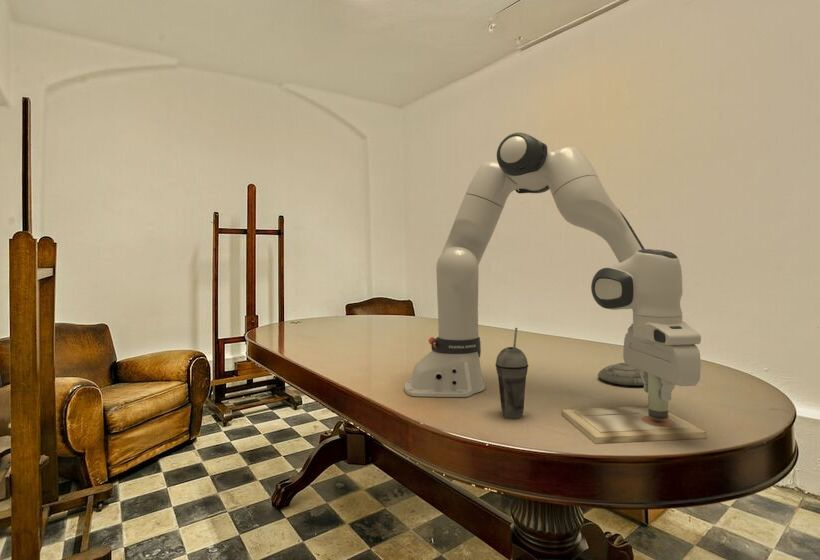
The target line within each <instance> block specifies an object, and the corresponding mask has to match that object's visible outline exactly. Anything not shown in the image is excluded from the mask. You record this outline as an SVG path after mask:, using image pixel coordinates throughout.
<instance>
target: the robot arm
mask: <svg viewBox="0 0 820 560" xmlns="http://www.w3.org/2000/svg"><path fill="white" fill-rule="evenodd" d="M514 191H515V192H516V193H517V194H542V193H545V192H547V191H550V193H551V195H552V199H553V201H554V204H555V206H556V208H557V211H558V212H559V213H560V215H561V216H562V218H563V219H564V220H565V221H566V222H567V223H569V224H571V225H573V226H575V227H578V228H581V229H584V230H587V231H589V232H592V233H594V234H595V235H598V236H599V237H600V238H602V239H603V240H604V241H605V242H606V243H607V244H608V246H609V247H610V249H611V251H612V252H613V254H614V256H615V257H616V259H617V261H618V263H616V264H613V265H610V266H607V267H603V268H600V269H599V270H597V272H596V273H595V274H594V276H592V277H593V278H592V281H591V284H590V286H591V287H590V290H591V295H592V298H593V300H594V301H595V302H596V304H597V305H598V306H600V307H601V308H603V309H607V310H612V311H613V310H614V311H616V310H632V323H631V324H630V326H629V327H628V328H627V332H626V334H625V335H624V341H623V353H622V358H623V361H624V362H623V363H626V364H628V365H630V366H632V367H635V368H637V369H640V375H641V378H642V381H643V383H644V385H643V391H644V393H647V394H648V373H650V374H652V375H654V376H657V377H659V378H661V383H662V384H663V386H662V389H661V390H658V394H659V395H658V397H659V399H661V400H663V401H668V402H670V401H671V400H672V393H673V391H674V388H675V387H676V385H677V386H679V387H694V386H695V387H696V386H697V385H698V384H699V382H700V380H701V368H702V367H701V365H702V364H701V352H700V349H699V348H698V346H697V345H701V340H702V338H701V337H702V336H701V333H700V332H699V331H697V330H695V329H694V328H692V327H691V326H690V325H689V324H688V323H686V322H685V321H683V311H682V308H681V299H682V296H683V274H682V271H683V270H682V266H681V265H682V264H681V262H680V259H679V257H678V255H676V254H675V253H673V252H670V251H667V250H661V249H653V248H652V249H650V248H645V247H644V245H643V244H642V242H641V240H640V238H639V237H638V236H637V234H636V232H635V231H634V229H633V227H632V226H631V224H630V222H629V221H628V219H627V218H626V216H625V215H624V214H623V213H622V211H621V210H620V209H619V208H618V207H617V206H616V204H615V203H614V202H613V200H612V199H611V198H610V196H609V194H608V193H607V191H606V190H605V188H604V186H603V184H602V182H601V180H600V179H599V175H598V174H597V171H596V170H595V168H594V167H593V165H592V164H591V162H590V161H589V159H588V158H587V156H586V155H585V153H583V151H582V150H581V149H579V148H577V147H575V146H564V147H560V148H559V149H557V150H554V151H552V150H548V145H547V144H546V143H544V142H542V141H540V140H539V139H537V138H535V137H534V136H532V135H530V134H527V133H524V132H514V133H511V134H509V135H507V136H506V137H504V139H503V140H502V141H501V142H500V143H499V145H498V147H497V151H496V161H492V160H490V161H486V162H483V163H482V164H481V165H480V166H479V168H478V169H477V171H476V172H475V174H474V176H473V177H472V179H471V181H470V182H469V184H468V187H467V190H466V192H465V195H464V197H463V199H462V201H461V204H460V206H459V208H458V211H457V214H456V217H455V218H454V220H453V224H452V227H451V229H450V231H449V234H448V236H447V240H446V242H445V243H444V244H445V245H444V247H443V249H442V251H441V254H440V255H439V257H438V259H437V262H436V268H435V269H436V289H437V290H436V294H437V296H436V297H437V317H438V318H437V323H438V327H437V328H438V329H437V331H438V336H437V337H436V338H435V337H434V336H431V337H429V338H428V343H429V345H430V346H431V351H430V352H428V354H426V355H425V356H424V357H423V358H421V359H420V360H419V361H417V362H416V363H415V364H414V367H413V370H412V374H411V379H408V380H406V381H405V382H404V386H403V387H404V391H405V393H406V394H407V395H408V396H412V397H429V398H431V397H434V398H435V397H437V398H438V397H439V398H442V397H445V398H469V397H471V396H472V395H474V394H478V393H479V392H480V393H481V392H483V391H484V390H485V389H486V384H485V381H484V378H483V374H482V373H483V371H482V367H481V366H482V365H481V359H480V358H481V354H482V346H481V345H482V344H481V337H480V336H479V265H480V263H481V260H482V258H483V255H484V253H485V252H486V249H487V247H488V245H489V243H490V241H491V238H492V236H493V234H494V232H495V229H496V227H497V224H498V221H499V219H500V217H501V214H502V213H503V209H504V207H505V205H506V202H507V200H508V198H509V196H510V194H511V193H512V192H514Z"/></svg>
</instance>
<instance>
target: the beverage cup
mask: <svg viewBox="0 0 820 560" xmlns="http://www.w3.org/2000/svg"><path fill="white" fill-rule="evenodd" d="M517 334H518V327H515V329H514V336H513V346H508V347H505V348H503V349H502V350H501V351H500V352H499V353H498V355H497V356H496V359H495V368H496V374H497V378H498V379H497V380H498V386H499V387H498V389H499V398H500V399H499V400H500V407H501V413H502V415H501V416H502V417H503V418H505V419H509V420H520V419H522V418H523V416H524V410H525V399H526V398H525V397H526V395H525V394H526V382H527V374H528V367H529V362H528V359H527V356H526V355H525V353H524V352H523V351H522V350H521V349H519V347H516V346H517V345H516V344H517V337H518V335H517Z"/></svg>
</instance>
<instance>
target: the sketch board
mask: <svg viewBox="0 0 820 560" xmlns="http://www.w3.org/2000/svg"><path fill="white" fill-rule="evenodd" d="M561 416H562V417H564V418H565V419H566V420H567V421H568V422H569V423H571V424H572V425H573V426H574V427H575V428H577V429H578V430H579V431H580V432H581V433H583V435H584V436H586V437H587V438H588V439H589V440H591V441H592V442H593V443H595V444H613V443H616V444H617V443H632V442H633V443H634V442H653V441H656V442H657V441H674V440H692V439H693V440H694V439H695V440H696V439H708V432H707V431H706V430H704V429H702V428H700V427H698V426H696V425H694V424H692V423H690V422H689V421H687V420H684V419H682V418H681V417H679V416H677V415H675V414H674V413H671V412H669V411H668V418H666V419H658V418H653V417H650V416H649V415H648V405H637V406H618V407H617V406H616V407H595V408H592V407H591V408H574V409H573V408H572V409H570V408H569V409H561Z"/></svg>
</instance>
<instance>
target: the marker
mask: <svg viewBox="0 0 820 560" xmlns="http://www.w3.org/2000/svg"><path fill="white" fill-rule="evenodd" d="M662 386H663V384H662V383H661V378H659V377H657V376H654V375H652V374H650V373H648V393H647V394H648V395H647V406H648V415H649V416H650V417H653V418H658V419H666V418H668V412H669V401H663V400H661V399H659V397H658V395H659V394H658V390H661V389H662Z"/></svg>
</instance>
